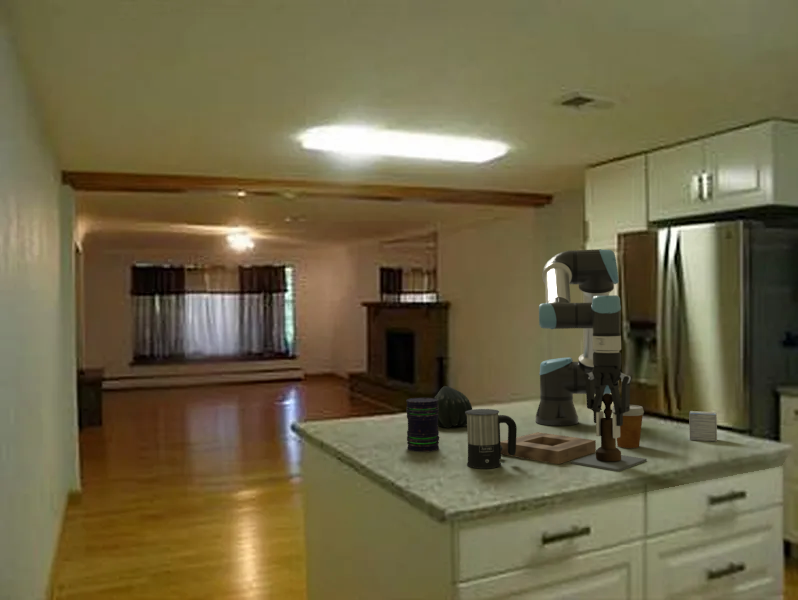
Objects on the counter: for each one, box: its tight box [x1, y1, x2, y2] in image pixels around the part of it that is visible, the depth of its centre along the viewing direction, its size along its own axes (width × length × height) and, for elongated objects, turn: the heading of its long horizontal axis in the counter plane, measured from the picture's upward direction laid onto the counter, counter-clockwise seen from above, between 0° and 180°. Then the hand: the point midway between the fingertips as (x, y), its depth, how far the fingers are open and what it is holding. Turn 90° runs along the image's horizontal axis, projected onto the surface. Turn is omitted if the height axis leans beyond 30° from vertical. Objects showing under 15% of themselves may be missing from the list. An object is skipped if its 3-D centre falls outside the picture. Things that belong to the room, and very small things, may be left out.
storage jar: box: [405, 397, 440, 453], centre depth 216 cm, size 10×10×15 cm
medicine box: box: [688, 410, 718, 443], centre depth 223 cm, size 8×4×9 cm, turn 65°
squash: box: [434, 385, 473, 429], centre depth 255 cm, size 14×15×15 cm
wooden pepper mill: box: [595, 393, 622, 461], centre depth 194 cm, size 7×6×18 cm
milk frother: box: [465, 408, 517, 470], centre depth 197 cm, size 14×16×15 cm
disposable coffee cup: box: [611, 404, 645, 449], centre depth 215 cm, size 10×10×12 cm
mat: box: [570, 452, 647, 472], centre depth 194 cm, size 14×16×1 cm
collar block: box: [500, 431, 597, 465], centre depth 207 cm, size 20×20×4 cm
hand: (608, 436), depth 194 cm, fingers open, 4 cm apart
